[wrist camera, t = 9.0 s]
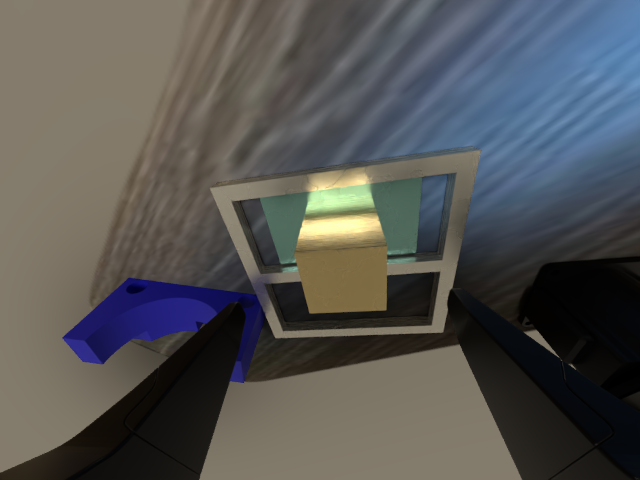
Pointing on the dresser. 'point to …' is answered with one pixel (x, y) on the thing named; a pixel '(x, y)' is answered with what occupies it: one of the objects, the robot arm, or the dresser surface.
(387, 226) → the grey divided frame
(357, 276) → the yellow rectangular block
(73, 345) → the cable clip
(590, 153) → the dresser surface
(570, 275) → the robot arm
